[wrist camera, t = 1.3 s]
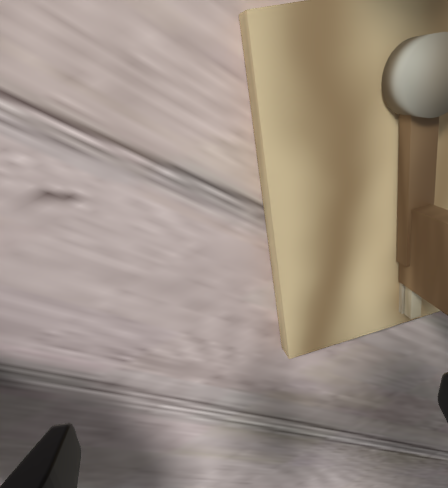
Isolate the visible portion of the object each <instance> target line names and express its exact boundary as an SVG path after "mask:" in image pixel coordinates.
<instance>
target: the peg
mask: <svg viewBox="0 0 448 488" xmlns="http://www.w3.org/2000/svg"><path fill="white" fill-rule="evenodd" d="M381 85H382V94H383V97H384V100H385V102H386V104H387V105H388V107H389V108H390V109H391V110H392V111H394V112H395V113H397V114H399V145H398V200H397V256H396V261H397V262H399V276H398V282H400V283H401V284H403V285H404V286H405V309H404V314H405V315H406V316H407V317H409V318H410V319H413V318H416V317H420V316H421V302H422V298H423V299H425V300H426V301H427V302H429V303H430V304H432V305H433V306H435V307H436V308H438V309H439V310H441V311H442V312H443V313H445V314H446V315H448V210H446V209H443V208H441V207H438V206H435V205H434V198H435V181H436V164H437V147H438V130H439V116H441V115H443V114H445V113H447V112H448V32H439V33H433V34H427V35H421V36H415V37H412V38H409V39H407V40H405V41H403V42H402V43H401V44H399V45H398V46H397V47H396V48H395V49H394V51H393V52H392V53H391V55H390V56H389V58H388V60H387V62H386V64H385V67H384V70H383V74H382V83H381Z"/></svg>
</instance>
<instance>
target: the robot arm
mask: <svg viewBox="0 0 448 488" xmlns="http://www.w3.org/2000/svg"><path fill="white" fill-rule="evenodd" d="M438 403H439V406H440V408H441V410H442V412H443V414H444V416H445V418H446V420H447V422H448V372H447V373H444V375H443V376H442V379H441V384H440V388H439V393H438ZM80 459H81V448H80V444H79V441H78V438H77V435H76V432H75V429H74V427H73V425H72V424H71V423H66V424H59V425H54V426H53V427H51V428H50V429H49V431H48V432H47V433H46V434H45V435H44V436H43V438H42V439H41V440H40V441H39V442H38V443H37V445H36V446H35V447H34V448H33V449H32V450H31V451H30V453H29V454H28V455H27V456H26V457H25V458H24V460H23V461H22V462H21V463H20V464H19V465H18V467H17V468H16V469H15V470H14V471H13V472H12V474H11V475H10V476H9V477H8V478H7V479H6V481H5V482H4V483H3V484H2V485H1V486H0V488H77V483H78V475H79V467H80Z"/></svg>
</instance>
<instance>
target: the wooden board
mask: <svg viewBox="0 0 448 488" xmlns="http://www.w3.org/2000/svg"><path fill="white" fill-rule="evenodd" d="M239 21H240V28H241V36H242V44H243V51H244V59H245V67H246V75H247V82H248V90H249V98H250V105H251V113H252V121H253V129H254V136H255V144H256V152H257V159H258V167H259V175H260V183H261V190H262V198H263V206H264V213H265V221H266V229H267V237H268V244H269V252H270V260H271V267H272V275H273V283H274V291H275V298H276V306H277V314H278V321H279V329H280V337H281V345H282V348H283V350H284V352H285V353H286V355H287V356H288V358H289V359H291V358H294V357H297V356H300V355H304V354H307V353H310V352H313V351H316V350H319V349H322V348H326V347H329V346H332V345H335V344H338V343H341V342H345V341H348V340H351V339H354V338H357V337H360V336H363V335H367V334H370V333H373V332H376V331H379V330H382V329H385V328H389V327H392V326H395V325H398V324H401V323H404V322H408V321H411V320H414V319H417V318H420V317H423V316H426V315H430V314H433V313H436V312H439V311H441V310H439V309H438V308H436V307H435V306H433V305H432V304H430V303H429V302H427V301H426V300H425V299H423V298H422V302H421V316H420V317H416V318H413V319H410V318H409V317H407V316H406V315H405V314H404V309H405V286H404V285H403V284H401V283H400V282H398V276H399V262H397V261H396V256H397V200H398V145H399V114H397V113H395V112H394V111H392V110H391V109H390V108H389V107H388V105H387V104H386V102H385V100H384V97H383V94H382V85H381V83H382V74H383V70H384V67H385V64H386V62H387V60H388V58H389V56H390V55H391V53H392V52H393V51H394V49H395V48H396V47H397V46H398V45H399V44H401V43H402V42H403V41H405V40H407V39H409V38H412V37H415V36H421V35H427V34H433V33H439V32H448V0H306V1H300V2H293V3H287V4H280V5H274V6H268V7H261V8H255V9H248V10H245V11H244V12H242V13H240V14H239ZM434 205H435V206H438V207H441V208H443V209H446V210H448V112H447V113H445V114H443V115H441V116H439V130H438V147H437V164H436V181H435V198H434Z"/></svg>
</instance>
